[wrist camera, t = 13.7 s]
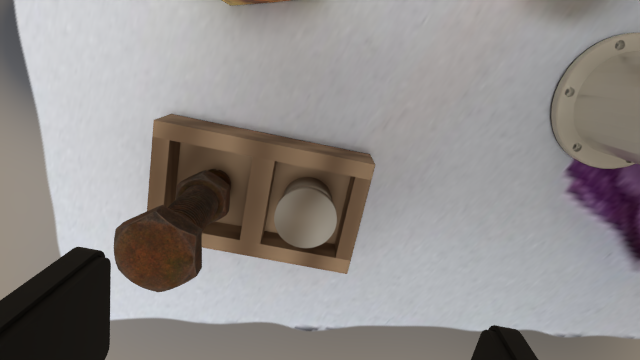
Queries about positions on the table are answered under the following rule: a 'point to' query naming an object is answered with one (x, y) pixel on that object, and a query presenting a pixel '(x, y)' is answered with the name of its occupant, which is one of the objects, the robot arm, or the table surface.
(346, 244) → the wooden divided tray
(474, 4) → the table surface
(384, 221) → the table surface
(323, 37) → the table surface
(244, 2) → the candy box
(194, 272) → the bolt
